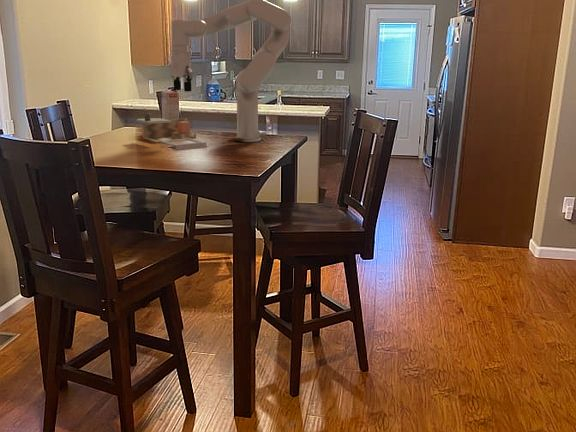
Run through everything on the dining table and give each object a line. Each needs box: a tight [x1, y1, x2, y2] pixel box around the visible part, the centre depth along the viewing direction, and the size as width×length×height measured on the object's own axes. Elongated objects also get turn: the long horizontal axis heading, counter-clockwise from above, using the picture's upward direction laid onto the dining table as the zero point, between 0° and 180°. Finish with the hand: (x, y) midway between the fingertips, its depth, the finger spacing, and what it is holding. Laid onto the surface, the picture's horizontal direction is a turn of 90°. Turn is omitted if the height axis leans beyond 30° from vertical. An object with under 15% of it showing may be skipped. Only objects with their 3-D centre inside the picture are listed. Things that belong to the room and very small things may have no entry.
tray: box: [160, 138, 207, 151], centre depth 236 cm, size 14×14×2 cm
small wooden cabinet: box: [141, 118, 200, 145], centre depth 249 cm, size 22×13×9 cm, turn 129°
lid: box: [136, 112, 171, 124], centre depth 242 cm, size 10×13×4 cm
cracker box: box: [160, 90, 180, 120], centre depth 264 cm, size 14×6×21 cm, turn 22°
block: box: [177, 121, 191, 134], centre depth 251 cm, size 4×4×7 cm
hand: (182, 90), depth 246 cm, fingers open, 9 cm apart
